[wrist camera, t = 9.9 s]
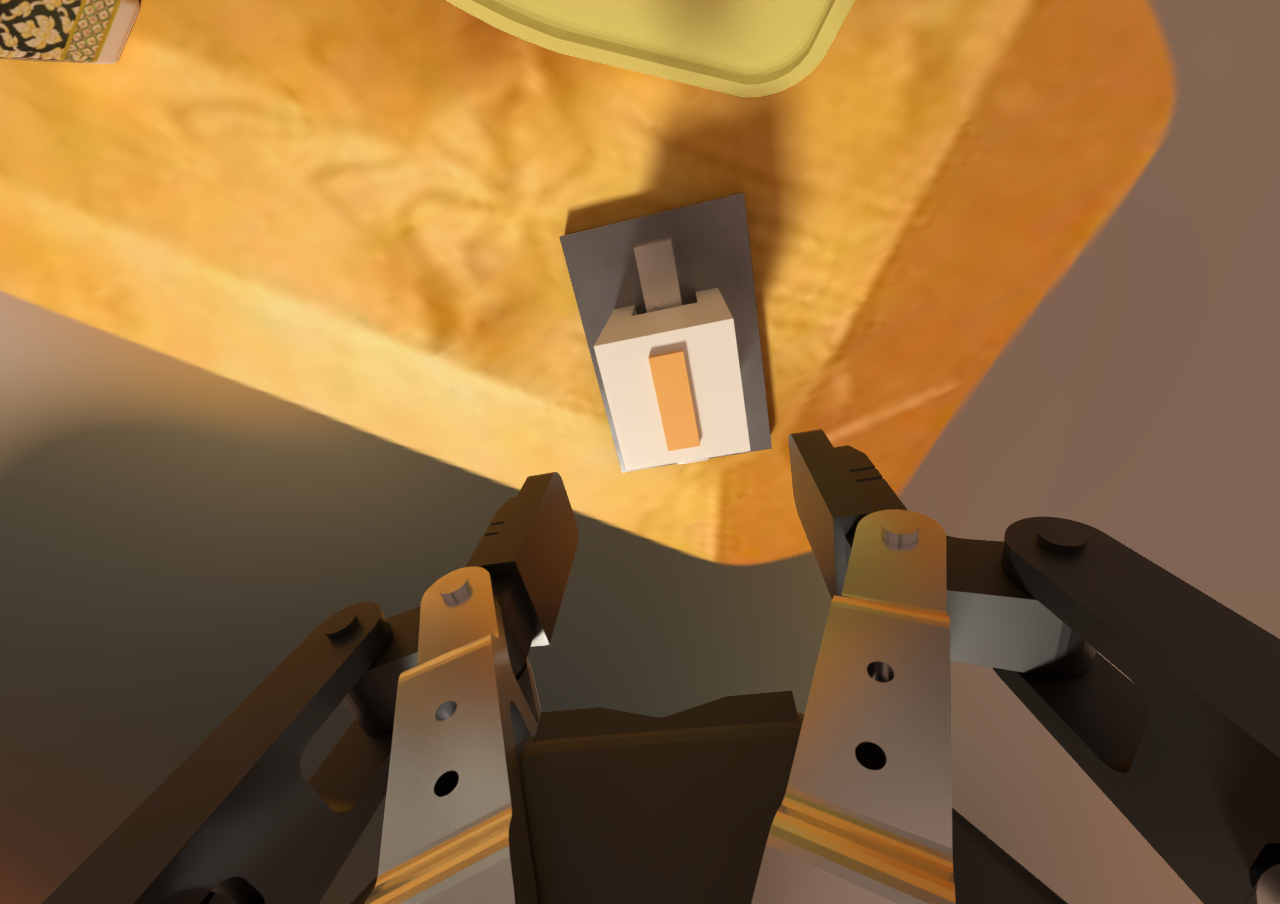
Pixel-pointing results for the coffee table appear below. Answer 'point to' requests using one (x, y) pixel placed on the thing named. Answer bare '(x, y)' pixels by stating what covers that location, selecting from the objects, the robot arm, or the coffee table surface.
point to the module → (674, 382)
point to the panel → (674, 284)
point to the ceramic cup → (66, 29)
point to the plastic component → (681, 36)
